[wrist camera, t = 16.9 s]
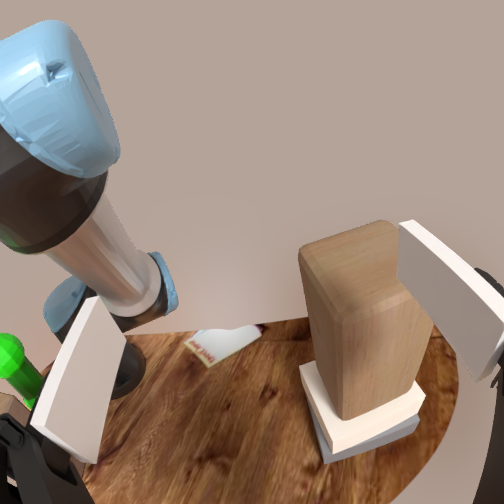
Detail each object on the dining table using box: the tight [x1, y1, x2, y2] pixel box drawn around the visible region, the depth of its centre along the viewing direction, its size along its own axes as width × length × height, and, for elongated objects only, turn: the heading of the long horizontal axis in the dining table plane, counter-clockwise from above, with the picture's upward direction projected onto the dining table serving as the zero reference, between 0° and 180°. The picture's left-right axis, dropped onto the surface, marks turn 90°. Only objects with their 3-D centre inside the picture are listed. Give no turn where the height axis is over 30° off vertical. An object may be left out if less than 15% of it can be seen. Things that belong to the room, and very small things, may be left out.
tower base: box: [305, 392, 420, 464], centre depth 36 cm, size 14×14×5 cm
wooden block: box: [298, 220, 434, 421], centre depth 27 cm, size 10×10×20 cm
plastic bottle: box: [0, 333, 44, 409], centre depth 41 cm, size 10×10×25 cm
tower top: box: [299, 360, 426, 454], centre depth 34 cm, size 13×13×5 cm
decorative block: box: [0, 392, 85, 478], centre depth 29 cm, size 11×6×20 cm, turn 91°
